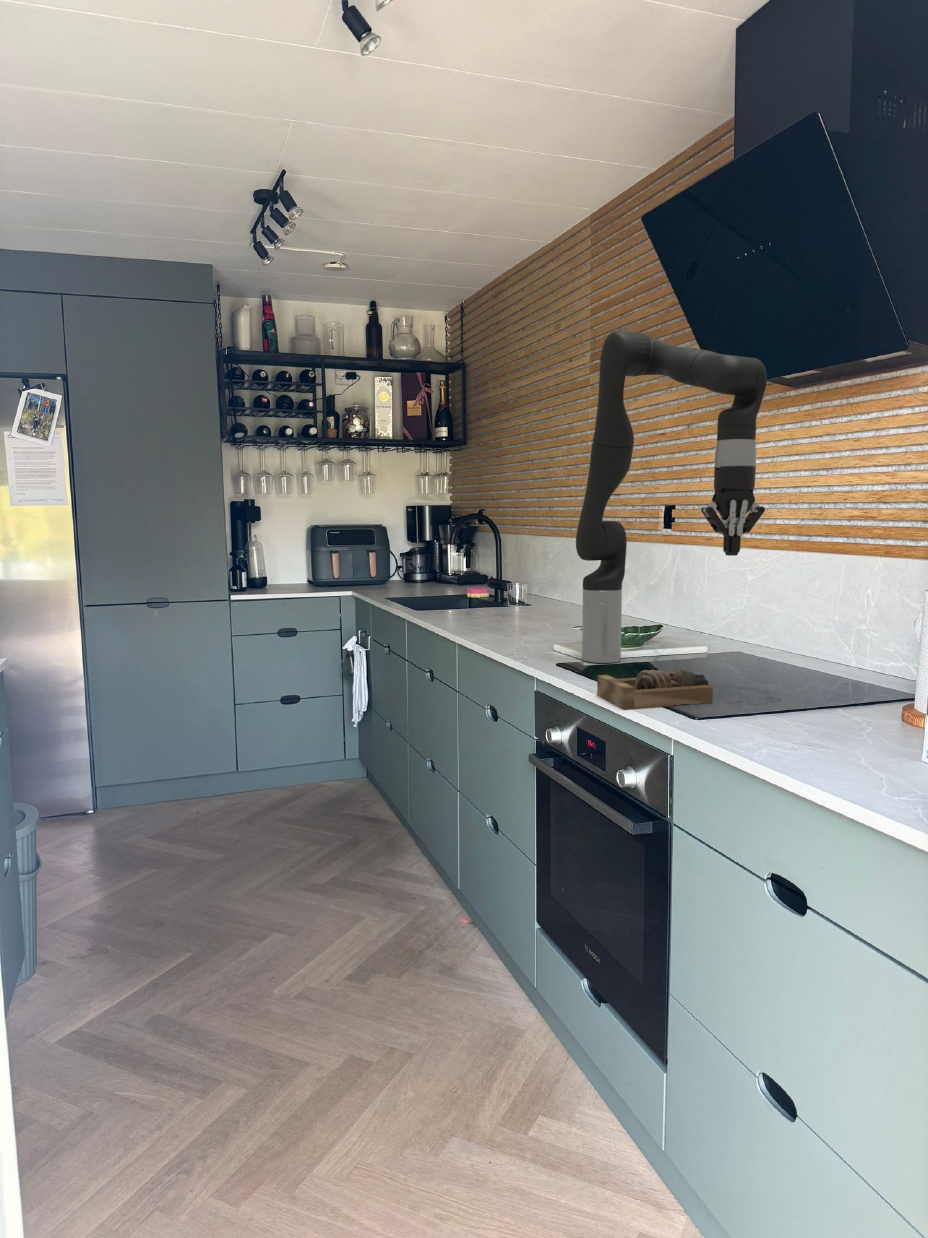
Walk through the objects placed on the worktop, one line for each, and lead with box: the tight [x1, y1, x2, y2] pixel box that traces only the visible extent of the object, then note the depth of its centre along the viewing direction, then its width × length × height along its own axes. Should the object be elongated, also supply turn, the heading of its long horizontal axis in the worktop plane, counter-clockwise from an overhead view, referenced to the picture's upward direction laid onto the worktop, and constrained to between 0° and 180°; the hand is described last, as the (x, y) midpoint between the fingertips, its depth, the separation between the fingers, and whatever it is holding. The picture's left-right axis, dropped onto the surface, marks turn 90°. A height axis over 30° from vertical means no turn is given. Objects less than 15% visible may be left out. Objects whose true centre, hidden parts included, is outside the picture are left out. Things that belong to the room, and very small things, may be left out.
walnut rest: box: [596, 674, 714, 710], centre depth 157 cm, size 12×18×4 cm, turn 105°
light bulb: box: [635, 668, 709, 690], centre depth 157 cm, size 6×6×15 cm
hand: (731, 555), depth 159 cm, fingers closed
